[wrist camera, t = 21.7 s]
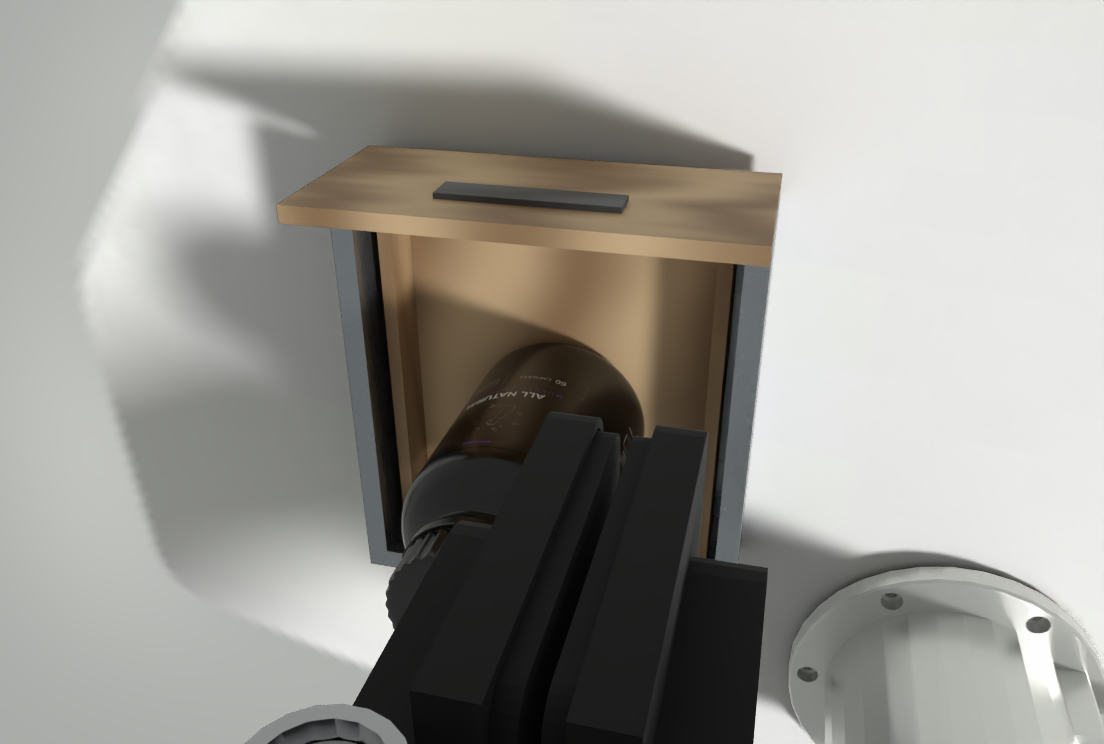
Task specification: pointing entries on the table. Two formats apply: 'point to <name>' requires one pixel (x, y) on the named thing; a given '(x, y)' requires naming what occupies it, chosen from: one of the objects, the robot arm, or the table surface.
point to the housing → (377, 411)
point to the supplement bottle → (503, 447)
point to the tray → (550, 275)
